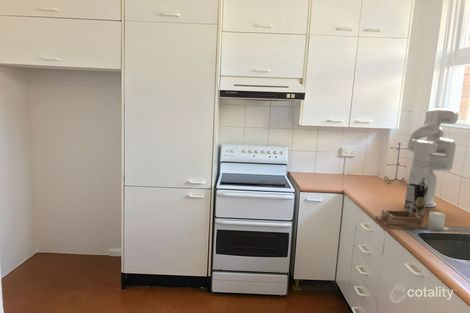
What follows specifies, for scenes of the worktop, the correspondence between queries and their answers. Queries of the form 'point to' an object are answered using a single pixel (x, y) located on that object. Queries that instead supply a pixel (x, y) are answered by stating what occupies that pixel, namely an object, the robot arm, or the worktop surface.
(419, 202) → the coffee box
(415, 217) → the tray
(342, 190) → the worktop surface
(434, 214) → the white rounded cylinder
